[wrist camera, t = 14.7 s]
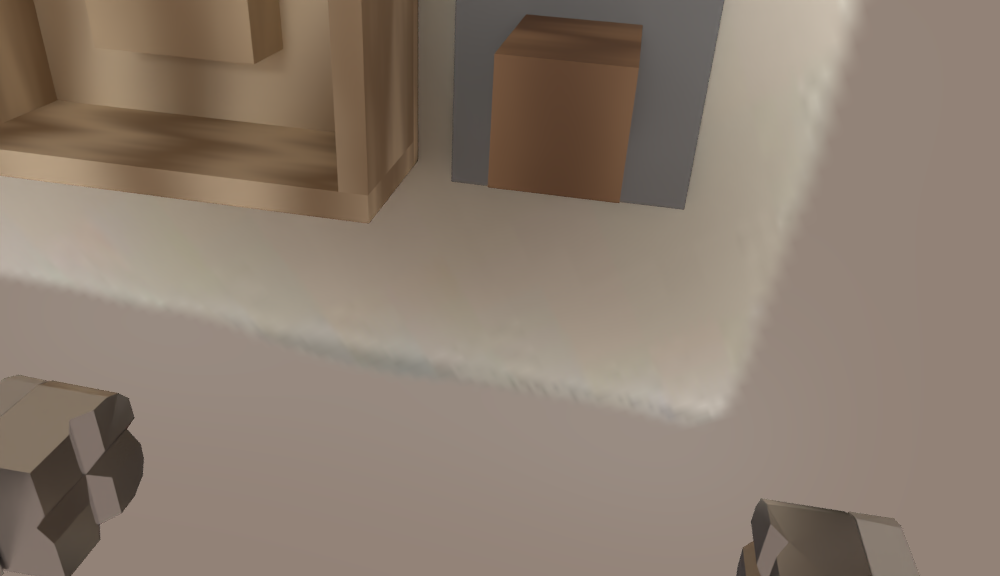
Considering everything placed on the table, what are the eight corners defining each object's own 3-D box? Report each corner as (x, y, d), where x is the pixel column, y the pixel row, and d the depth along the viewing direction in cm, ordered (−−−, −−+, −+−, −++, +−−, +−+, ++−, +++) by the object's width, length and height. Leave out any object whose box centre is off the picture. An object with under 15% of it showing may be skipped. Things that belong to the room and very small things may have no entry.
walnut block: (518, 126, 28) (487, 187, 23) (526, 14, 26) (494, 53, 21) (626, 138, 28) (619, 203, 23) (642, 25, 26) (639, 67, 21)
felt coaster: (454, 176, 30) (451, 181, 30) (461, -72, 26) (457, -71, 26) (683, 204, 29) (684, 209, 29) (732, -51, 25) (733, -50, 24)
